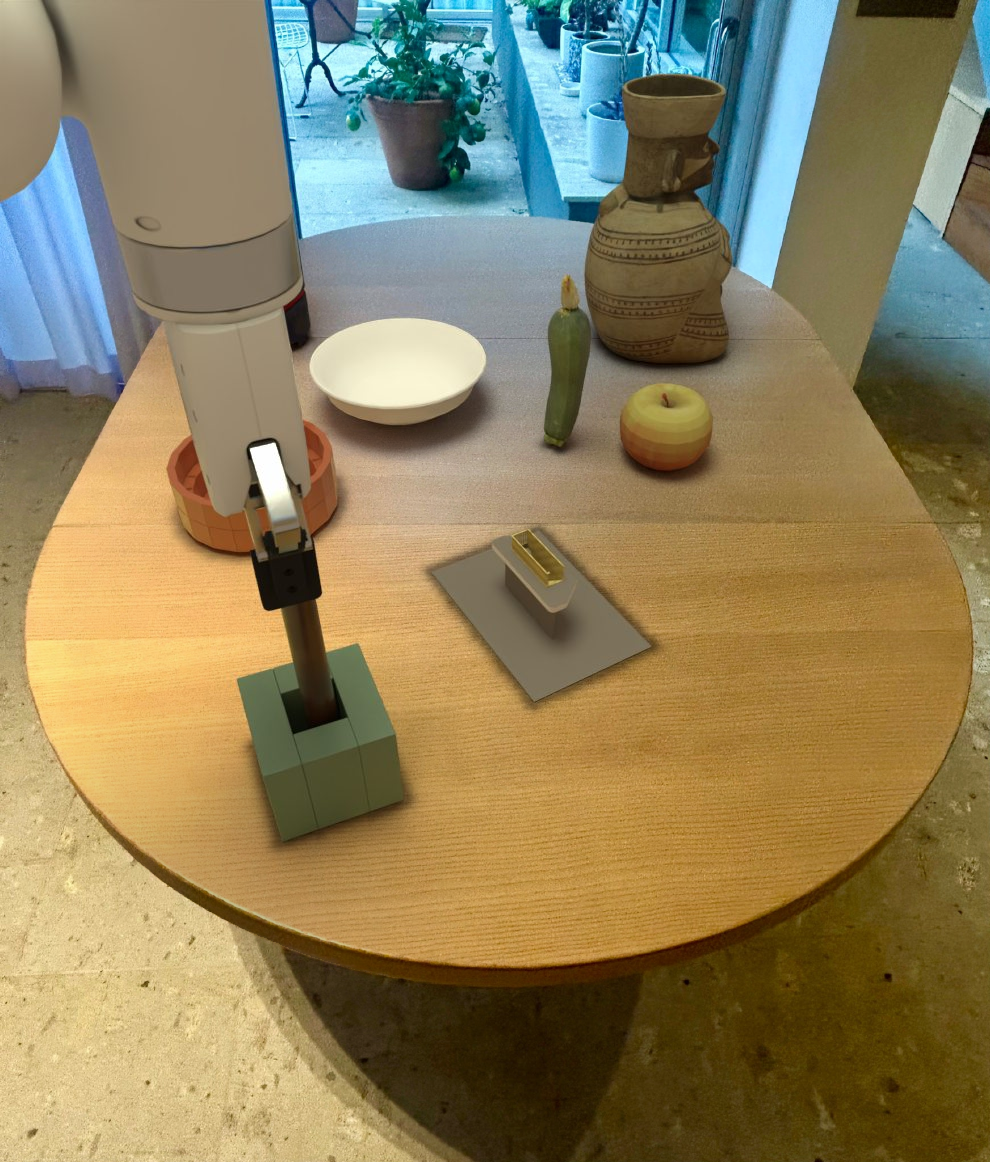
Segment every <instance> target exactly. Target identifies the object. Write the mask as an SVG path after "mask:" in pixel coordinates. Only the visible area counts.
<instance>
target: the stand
mask: <svg viewBox="0 0 990 1162" xmlns="http://www.w3.org/2000/svg"><path fill="white" fill-rule="evenodd" d="M326 655H327V660H328V665H329V670H330V676H331V681H332V686H333V691H334V696H335V702H336V707H337V712H338V717H339V720H338V721H335V722H331V723H328V724H325V725H322V726H319V727H316V728H312V729H308V724H307V720H306V716H305V712H304V707H303V703H302V699H301V694H300V690H299V686H298V681H297V677H296V673H295V669H294V664H293V661H292V662H289V663H285V664H282V665H278V666H275V667H273V668H268V669H265V670H261V671H258V672H255V673H250V674H248V675H244V676H241V677H238V678H236V684H237V687H238V691H239V694H240V698H241V703H242V706H243V710H244V713H245V717H246V721H247V725H248V729H249V732H250V735H251V736H250V737H251V740H252V743H253V747H254V751H255V755H256V759H257V762H258V766H259V770H260V773H261V777H262V781H263V784H264V786H265V787H264V788H265V790H266V793H267V797H268V801H269V803H270V806H271V810H272V812H273V816H274V819H275V823H276V827H277V830H278V832H279V835H280V839H281V841H282V842H286V841H289V840H292V839H294V838H297V837H298V838H299V837H301V836H303V835H304V836H305V835H306V834H309V833H312V832H315V831H317V830H321V829H325V828H328V827H330V826H333V825H335V824H338V823H342V822H345V821H347V820H350V819H353V818H356V817H358V816H362V815H364V814H367V813H370V812H374V811H376V810H379V809H382V808H385V807H388V806H390V805H394V804H396V803H399V802H401V801H404V789H403V783H402V782H403V781H402V774H401V767H400V765H401V764H400V759H399V758H400V757H399V749H398V741H397V734H396V731H395V728H394V726H393V724H392V721H391V719H390V717H389V713H388V712H387V709H386V706H385V704H384V702H383V700H382V697H381V694H380V692H379V690H378V687H377V684H376V682H375V680H374V678H373V677H374V676H373V675H372V672H371V669H370V668H369V666H368V663H367V660H366V658H365V656H364V653H363V650H362V649H361V646H360V644H359V642H357V643H353V644H349V645H346V646H343V647H340V648H335V649H332V650H328V651H326Z"/></svg>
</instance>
